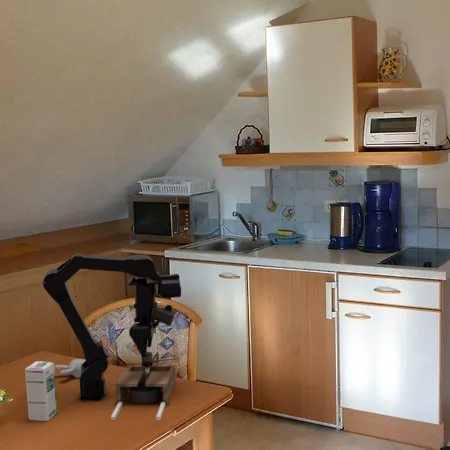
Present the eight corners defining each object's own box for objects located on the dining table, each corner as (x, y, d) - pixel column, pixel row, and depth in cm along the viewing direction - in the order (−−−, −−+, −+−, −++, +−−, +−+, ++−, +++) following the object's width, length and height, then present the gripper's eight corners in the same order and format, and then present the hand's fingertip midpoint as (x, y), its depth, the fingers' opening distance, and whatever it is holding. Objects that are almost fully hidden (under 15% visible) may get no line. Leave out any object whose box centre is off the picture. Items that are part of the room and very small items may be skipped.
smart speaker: (140, 391, 201) (139, 378, 201) (166, 396, 197) (166, 382, 197) (123, 402, 193) (122, 389, 193) (150, 407, 189) (149, 393, 189)
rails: (111, 420, 181) (110, 416, 181) (118, 405, 191) (118, 402, 190) (160, 420, 180) (159, 416, 180) (165, 405, 190) (165, 402, 190)
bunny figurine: (109, 362, 215) (63, 366, 207) (108, 378, 215) (62, 383, 207) (98, 354, 223) (53, 358, 215) (97, 370, 223) (52, 374, 215)
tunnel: (117, 405, 191) (116, 383, 190) (129, 381, 209) (129, 361, 209) (167, 405, 190) (166, 383, 189) (175, 381, 209) (174, 361, 208)
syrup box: (48, 421, 181) (45, 368, 179) (27, 420, 182) (24, 367, 180) (57, 413, 186) (55, 361, 184) (37, 411, 188) (34, 360, 186)
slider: (128, 392, 199) (126, 355, 198) (130, 388, 202) (129, 351, 201) (166, 392, 199) (164, 355, 197) (167, 388, 202) (166, 351, 200)
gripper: (168, 307, 187) (169, 362, 189) (176, 291, 206) (178, 342, 208) (128, 307, 188) (129, 362, 190) (140, 291, 206) (141, 342, 208)
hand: (146, 351), depth 199 cm, fingers open, 9 cm apart
